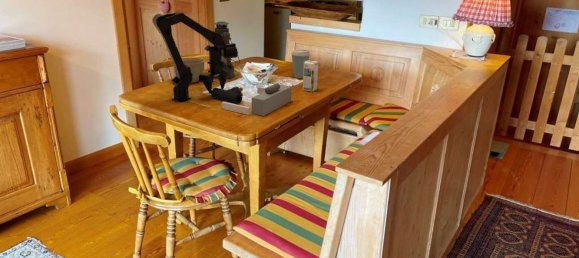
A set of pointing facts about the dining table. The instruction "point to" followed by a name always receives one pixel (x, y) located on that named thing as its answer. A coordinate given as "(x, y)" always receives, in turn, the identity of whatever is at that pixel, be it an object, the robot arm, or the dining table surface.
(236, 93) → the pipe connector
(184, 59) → the planter bowl
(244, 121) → the dining table surface
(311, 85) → the syrup box
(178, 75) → the robot arm
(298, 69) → the disposable coffee cup
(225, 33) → the lantern
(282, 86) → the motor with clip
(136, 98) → the dining table surface
